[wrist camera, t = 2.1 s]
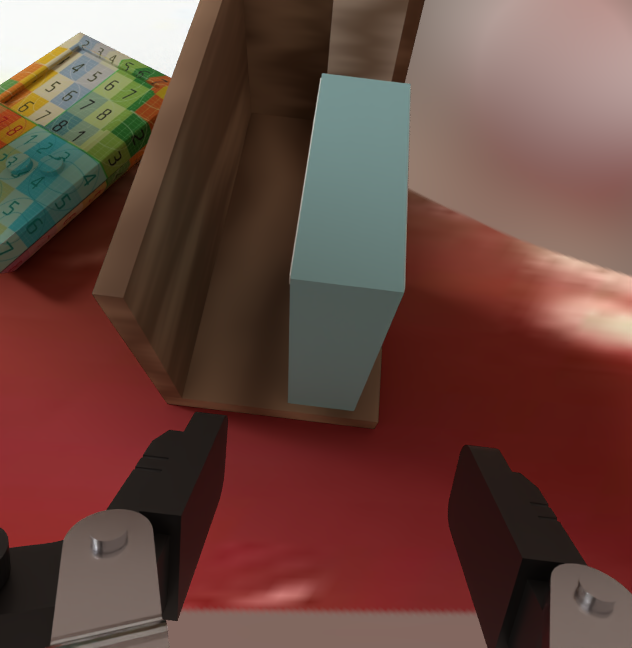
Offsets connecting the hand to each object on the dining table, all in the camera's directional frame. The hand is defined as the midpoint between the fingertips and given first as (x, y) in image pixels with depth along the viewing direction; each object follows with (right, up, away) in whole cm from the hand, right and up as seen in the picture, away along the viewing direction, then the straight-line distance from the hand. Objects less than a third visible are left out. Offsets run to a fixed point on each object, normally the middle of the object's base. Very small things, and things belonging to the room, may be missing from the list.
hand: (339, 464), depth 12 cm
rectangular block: (0, +3, +21) cm, 21 cm away
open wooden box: (-2, +9, +25) cm, 27 cm away
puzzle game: (-21, +16, +28) cm, 38 cm away
